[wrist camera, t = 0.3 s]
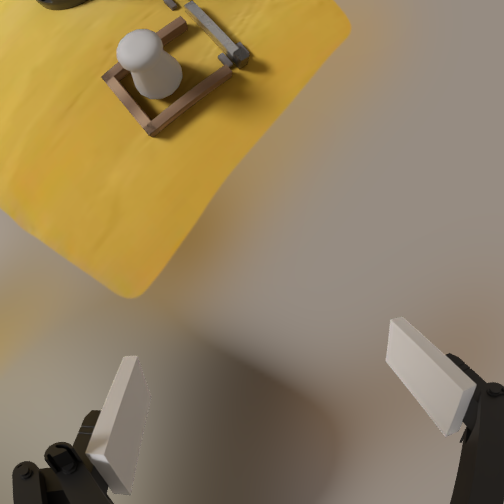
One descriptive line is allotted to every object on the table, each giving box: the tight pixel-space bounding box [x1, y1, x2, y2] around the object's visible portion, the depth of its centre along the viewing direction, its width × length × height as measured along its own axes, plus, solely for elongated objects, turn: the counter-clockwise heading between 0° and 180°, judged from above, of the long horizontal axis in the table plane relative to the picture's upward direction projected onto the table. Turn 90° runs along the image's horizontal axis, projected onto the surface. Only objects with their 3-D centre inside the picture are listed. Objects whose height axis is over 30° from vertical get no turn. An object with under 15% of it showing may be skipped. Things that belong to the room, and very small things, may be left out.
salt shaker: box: [117, 29, 183, 99], centre depth 28 cm, size 6×6×13 cm
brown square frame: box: [101, 0, 250, 137], centre depth 32 cm, size 15×16×2 cm
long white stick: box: [184, 1, 250, 69], centre depth 32 cm, size 12×1×3 cm, turn 38°
